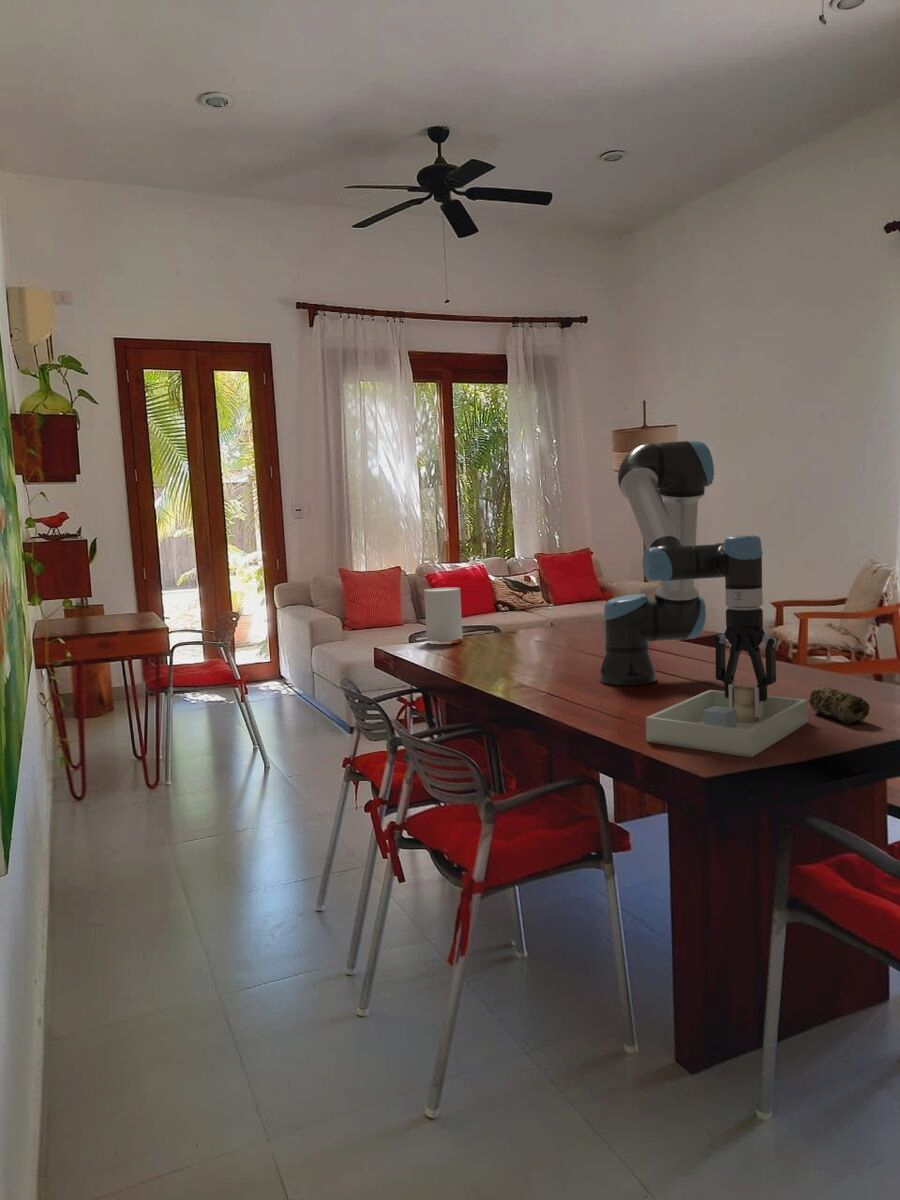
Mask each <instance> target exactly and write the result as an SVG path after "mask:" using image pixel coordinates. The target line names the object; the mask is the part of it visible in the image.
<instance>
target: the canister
mask: <svg viewBox="0 0 900 1200" xmlns="http://www.w3.org/2000/svg"><path fill="white" fill-rule="evenodd" d="M423 596H424V609H425V611H424V612H425V631H426V642H427V641H428V642H429V641H438V642H446V641H451V640H457V639H462V638H463V619H462V601H461V600H462V598H461V588H460V587H435V588H426V589H423Z"/></svg>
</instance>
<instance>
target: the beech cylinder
mask: <svg viewBox="0 0 900 1200" xmlns="http://www.w3.org/2000/svg"><path fill="white" fill-rule="evenodd" d="M754 687H755V686H751V685H740V686H738V685H737V687H734V688H733V690H734V708H736V709H737V722H741V723H754V722H758V717H755V690H754Z"/></svg>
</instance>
